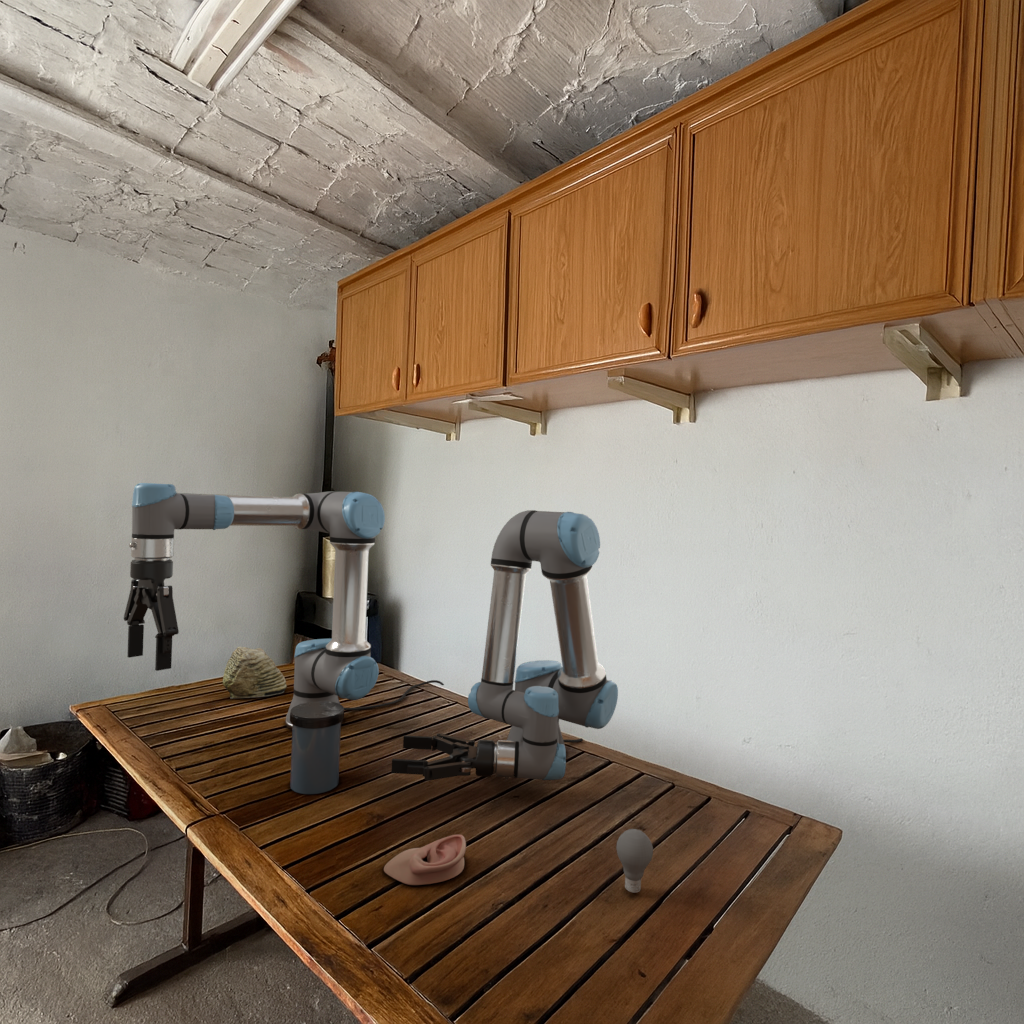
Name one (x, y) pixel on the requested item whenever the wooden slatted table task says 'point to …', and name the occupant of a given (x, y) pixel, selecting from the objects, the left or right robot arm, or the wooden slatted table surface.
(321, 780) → the jar
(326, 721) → the lid
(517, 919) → the wooden slatted table surface
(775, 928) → the wooden slatted table surface
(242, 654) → the fossil
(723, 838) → the wooden slatted table surface
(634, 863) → the light bulb
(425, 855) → the anatomical model
